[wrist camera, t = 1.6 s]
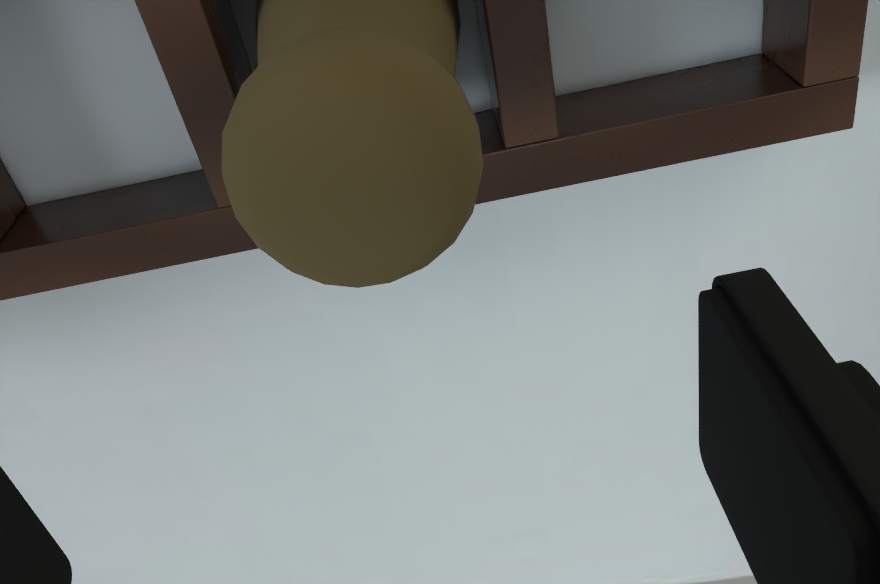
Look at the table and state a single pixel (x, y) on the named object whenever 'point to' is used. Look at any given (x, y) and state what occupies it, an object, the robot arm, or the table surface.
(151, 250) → the holder
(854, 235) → the table surface
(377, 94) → the olive pawn
